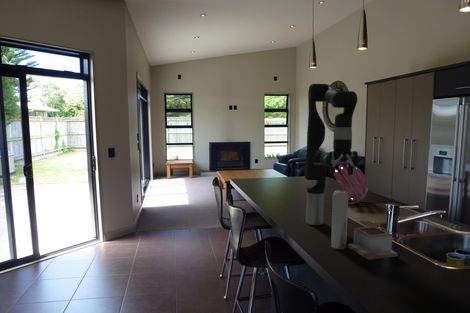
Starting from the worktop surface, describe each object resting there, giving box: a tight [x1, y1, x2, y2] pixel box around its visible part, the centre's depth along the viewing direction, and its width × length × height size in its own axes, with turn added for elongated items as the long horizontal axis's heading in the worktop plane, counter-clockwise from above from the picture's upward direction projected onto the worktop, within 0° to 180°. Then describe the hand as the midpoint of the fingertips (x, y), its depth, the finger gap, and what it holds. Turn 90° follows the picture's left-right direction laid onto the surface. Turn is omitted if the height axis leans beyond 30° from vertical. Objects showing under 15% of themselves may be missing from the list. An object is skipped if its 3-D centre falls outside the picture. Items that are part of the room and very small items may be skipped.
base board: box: [347, 242, 399, 261], centre depth 134 cm, size 14×14×1 cm
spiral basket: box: [330, 164, 369, 205], centre depth 216 cm, size 28×28×27 cm
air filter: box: [330, 190, 349, 250], centre depth 138 cm, size 6×6×25 cm
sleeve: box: [353, 225, 393, 255], centre depth 133 cm, size 11×11×8 cm
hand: (341, 175), depth 136 cm, fingers open, 8 cm apart
